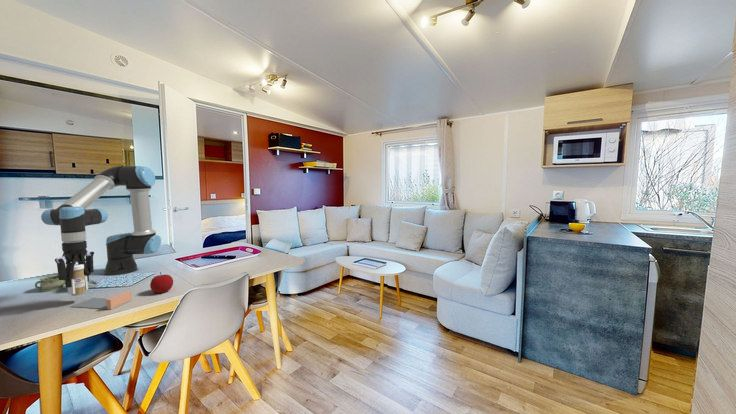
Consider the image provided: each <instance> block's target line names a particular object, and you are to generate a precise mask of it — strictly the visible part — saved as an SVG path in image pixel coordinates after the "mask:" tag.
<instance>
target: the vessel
mask: <svg viewBox="0 0 736 414" xmlns="http://www.w3.org/2000/svg"><path fill="white" fill-rule="evenodd" d="M38 285H39V286H38ZM34 287H35V288H36V290H38V291H40V290H42V292H44V293H48V292H55V291H59V290H62V289H64V288H65V280H59V278H58V274H54V275H48V276H44V277H41V278H40V279H39V280H38V281H35V284H34Z"/></svg>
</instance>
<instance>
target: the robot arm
mask: <svg viewBox="0 0 736 414" xmlns="http://www.w3.org/2000/svg"><path fill="white" fill-rule="evenodd" d="M155 184H156V176H155V172H154V171H153V170H152V169H151V168H150V167H148V166H140V165H136V166H135V165H133V166H132V165H117V166H113V167H112V166H111V167H109V168H107V169H105V170H103V171H100V173H98V174H97V175H95V176H94V178H93V180H92V181H91V182H89V183H88V184H87V185H86V186H84V187H83V188H82V189H81V190H79V191H78V192H77V193H75V194H74V195H72V197H70V198H68V199H67V200H66V201H64V202H63V203H62V204H61V205H60V206H58V207H56V208H51V209H50V208H49V209H46V210H44V211H43V212H42V213H41V216H40V218H41V221H42V222H43V224H45V225H47V226H60V237H61V242H62V243H61V249H62V252H63V253H62V256H61V257H57V258H55V259H54V262H55V264H56V266H57V268H56V269H57V275H58V278H59V280H65V284H64V287H65V288H67V294H68V295H71V294H75V283H74V279H72V276H73V270H74V265H76V264H83V265H84V279H85V291H87V290H89V287H88V281H89V275H90V276H91V275H92V273H94V272H95V271H94V269H95V268H94V254H95V252H94V251H88V250H87V248H88V246H87V245H88V244H87V242H88V241H86V240H87V231H86V227H87V226H94V225H99V224H102V223H105V222H106V221H107V219H108V212H107V211H106V210H105V209H103V208H90V209H87V208H89V207H90V206H91V205H92V204H93V203H94V202H95V201H96V200H97V199H99V198H100V197H101V196H103V195H104V194H105V193H106V192H107V191H109V190H113V189H114V188H115V187H118V186H123V187H124V186H125V190H127V191H128V192H129V195H130V205H131V213H132V223H133V232H125V233H118V234H114V235H113V234H112V235H109V236H107V237H106V240H105V241H106V242H105V245H106V246H105V247H106V256H107V258H106V259H107V262H106V265H105V268H104V270H103V271H104V275H106V276H115V275H117V274H118V275H123V274H124V275H125V274H127V273H133V272H135V271H137V270H138V264H137V262H136V260H135V258H134V255H150V254H155V253H157V252H158V251H159V249H160V246H161V245H162V237H161V236H160V235H158V234H156V231H155V230H154V229H153V226H152V225H153V223H152V222H153V221H152V215H151V212H152V211H151V203H150V202H151V201H150V194H149V191H150V190H151V189H152V186H154V185H155ZM118 275H117V276H118Z"/></svg>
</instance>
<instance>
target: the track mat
mask: <svg viewBox="0 0 736 414" xmlns="http://www.w3.org/2000/svg"><path fill="white" fill-rule="evenodd" d="M131 301H132V291H125V292H123V293H120V294H118V295H115V296H113V297H110V298H102V297H91V298H89V299H86V300H83V301H81V302H78V303H76V304H72V305H70V308H79V309H96V310H97V309H98V310H113V309H116V308H118V307H120V306H122V305H123V306H124V305H125V304H128V303H130V302H131Z"/></svg>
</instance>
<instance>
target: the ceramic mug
mask: <svg viewBox="0 0 736 414" xmlns="http://www.w3.org/2000/svg"><path fill="white" fill-rule="evenodd" d="M98 285H99V283H98V281H95V280H92V278H91V275H89V281H88V288H96V287H97V286H98ZM95 286H96V287H95Z"/></svg>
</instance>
